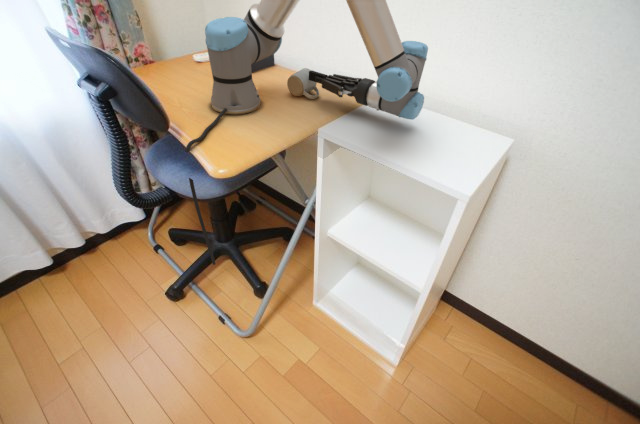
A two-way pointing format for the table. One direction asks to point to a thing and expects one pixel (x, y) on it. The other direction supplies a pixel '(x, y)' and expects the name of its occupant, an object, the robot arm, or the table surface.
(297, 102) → the table surface
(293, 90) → the ceramic mug
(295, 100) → the table surface
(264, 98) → the table surface
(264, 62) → the storage box
